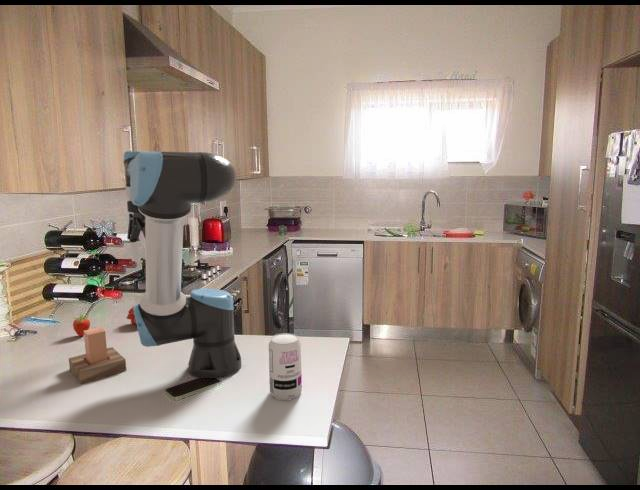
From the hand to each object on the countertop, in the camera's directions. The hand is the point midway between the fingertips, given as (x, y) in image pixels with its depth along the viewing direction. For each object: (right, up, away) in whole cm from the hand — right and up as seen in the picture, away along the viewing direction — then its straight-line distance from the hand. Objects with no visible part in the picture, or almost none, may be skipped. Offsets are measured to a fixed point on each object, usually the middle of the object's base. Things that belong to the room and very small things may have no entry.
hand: (144, 263), depth 145 cm
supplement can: (+50, -32, -32) cm, 67 cm away
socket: (-6, -30, -18) cm, 36 cm away
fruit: (-25, -26, +9) cm, 37 cm away
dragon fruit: (-9, -24, +20) cm, 32 cm away
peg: (-6, -30, -18) cm, 36 cm away
